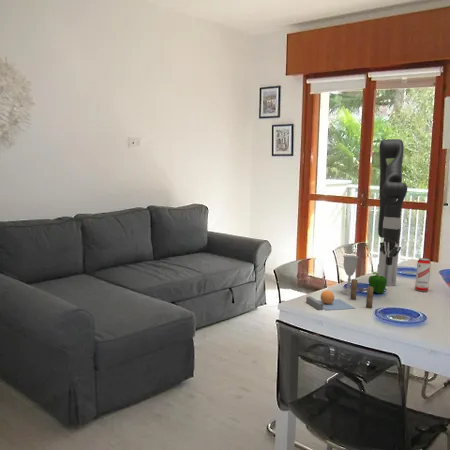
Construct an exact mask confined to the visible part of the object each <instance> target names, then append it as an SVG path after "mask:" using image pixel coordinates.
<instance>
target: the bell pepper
mask: <svg viewBox="0 0 450 450" xmlns="http://www.w3.org/2000/svg"><path fill="white" fill-rule="evenodd" d="M386 282H387V280H386V278H384V277H383V276H379V275H378V273H377V271H376V272H375V271H373V272H372V275H370V276H369V277H368V287H369V286H370V287H374V289H373V292H377V293H376V294H383V293H384V292H385V289H386Z"/></svg>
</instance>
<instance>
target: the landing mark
mask: <svg viewBox="0 0 450 450" xmlns="http://www.w3.org/2000/svg"><path fill="white" fill-rule="evenodd" d="M316 300H317V299H316ZM317 301H319V302H321V303H322V304H323V310H324V311H337V310H353V309H356V307H354V306H353V305H350V304H349V303H347V302H345V301H344V300H342V299H341V298H340V299H339V298H336V299H335V298H334V301H333V302H332V303H330V304H325V303H323V302H322V300H321V299H319V300H317Z"/></svg>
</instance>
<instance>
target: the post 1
mask: <svg viewBox="0 0 450 450" xmlns="http://www.w3.org/2000/svg"><path fill="white" fill-rule="evenodd" d="M350 283H351V284H350V288H351V295H349V297H350V298H349V299H350V300H354V301H356V300H357V293H358V292H357V291H358V279H355V278H353V279H351V281H350Z"/></svg>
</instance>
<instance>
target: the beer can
mask: <svg viewBox="0 0 450 450" xmlns="http://www.w3.org/2000/svg"><path fill="white" fill-rule="evenodd" d="M430 275H431V260H430V258H423V257H419V258H418V260H417V262H416V275H415V282H414V283H415V285H414V288H415V290H416V291H417V292H419V293H420V292H421V293H423V292H424V293H426V292H428V291H429V288H430Z"/></svg>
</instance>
